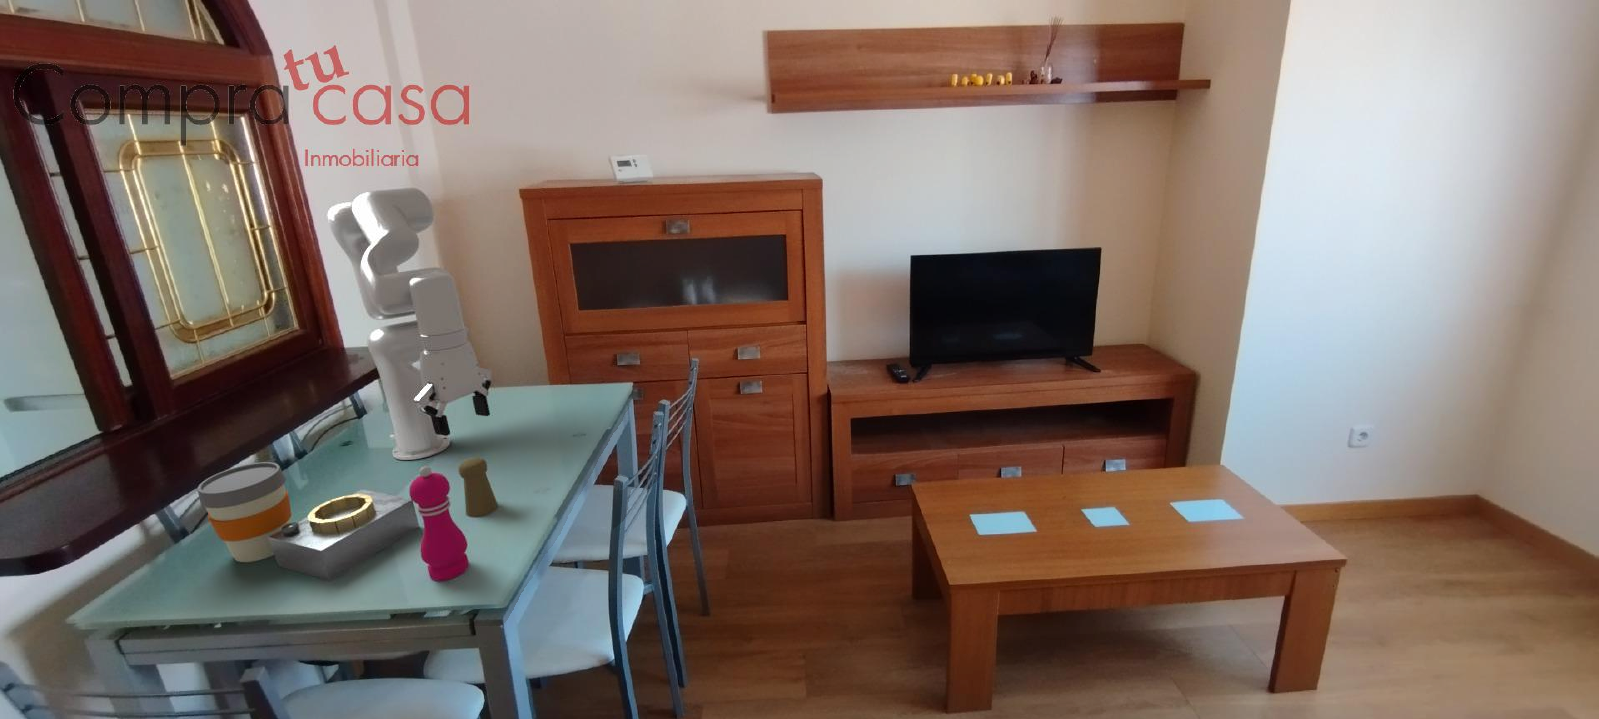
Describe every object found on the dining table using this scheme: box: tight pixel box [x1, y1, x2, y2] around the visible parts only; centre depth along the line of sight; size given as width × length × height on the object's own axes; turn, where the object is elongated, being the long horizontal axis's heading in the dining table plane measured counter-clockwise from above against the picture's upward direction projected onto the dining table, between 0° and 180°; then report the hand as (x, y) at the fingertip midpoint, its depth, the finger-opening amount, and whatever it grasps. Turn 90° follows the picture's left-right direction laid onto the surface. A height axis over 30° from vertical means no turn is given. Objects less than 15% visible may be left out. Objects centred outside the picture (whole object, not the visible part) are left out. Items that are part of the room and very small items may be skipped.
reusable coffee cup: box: [197, 461, 292, 563], centre depth 129 cm, size 12×12×15 cm
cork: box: [458, 456, 499, 518], centre depth 139 cm, size 6×6×11 cm
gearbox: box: [269, 488, 420, 581], centre depth 129 cm, size 14×18×8 cm
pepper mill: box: [408, 466, 470, 582], centre depth 118 cm, size 7×7×20 cm
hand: (463, 424), depth 135 cm, fingers open, 9 cm apart
